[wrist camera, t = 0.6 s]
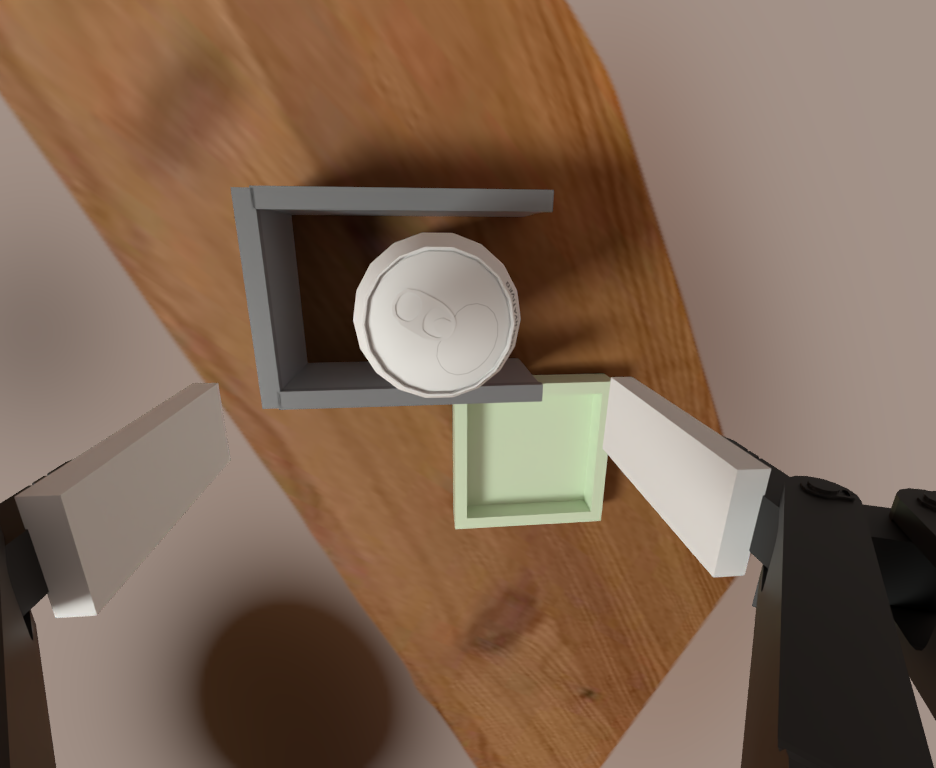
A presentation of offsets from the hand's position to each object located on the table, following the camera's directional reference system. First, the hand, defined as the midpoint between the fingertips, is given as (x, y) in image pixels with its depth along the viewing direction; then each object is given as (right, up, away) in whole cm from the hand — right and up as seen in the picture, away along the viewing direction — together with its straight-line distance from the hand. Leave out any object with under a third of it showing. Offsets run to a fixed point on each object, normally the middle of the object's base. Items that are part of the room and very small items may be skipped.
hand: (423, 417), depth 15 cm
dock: (-3, +8, +19) cm, 21 cm away
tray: (+7, -4, +24) cm, 26 cm away
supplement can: (-1, +8, +20) cm, 22 cm away
